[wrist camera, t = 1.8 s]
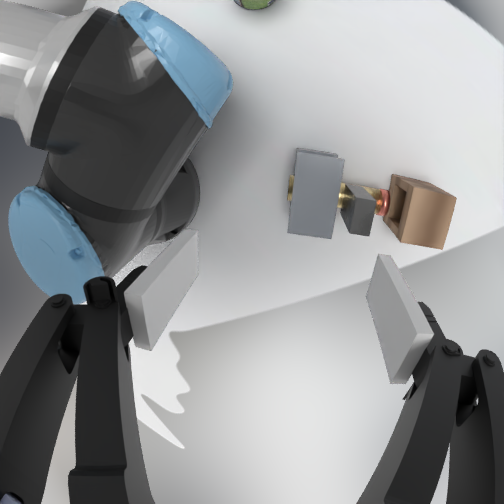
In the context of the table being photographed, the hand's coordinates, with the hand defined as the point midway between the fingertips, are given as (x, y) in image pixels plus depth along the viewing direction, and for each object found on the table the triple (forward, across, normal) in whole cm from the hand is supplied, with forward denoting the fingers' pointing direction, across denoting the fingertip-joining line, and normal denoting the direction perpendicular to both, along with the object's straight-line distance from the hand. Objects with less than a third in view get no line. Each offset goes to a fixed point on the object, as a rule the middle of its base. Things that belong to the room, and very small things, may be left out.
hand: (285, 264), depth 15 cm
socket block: (+24, +16, 0) cm, 28 cm away
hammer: (+21, +5, 0) cm, 22 cm away
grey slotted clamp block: (+24, +2, 0) cm, 24 cm away
